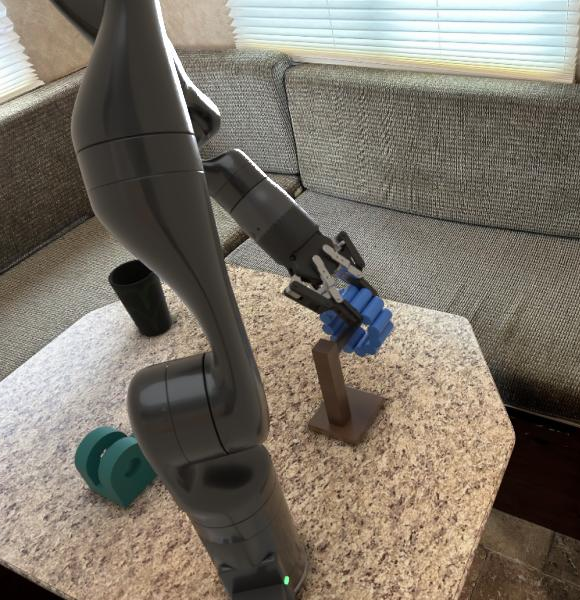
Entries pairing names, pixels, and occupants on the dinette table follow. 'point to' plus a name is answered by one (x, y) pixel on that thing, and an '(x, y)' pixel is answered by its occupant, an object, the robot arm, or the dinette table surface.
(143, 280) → the cup
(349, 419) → the tape stand
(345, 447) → the dinette table surface
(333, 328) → the blue ribbed cylinder bundle
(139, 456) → the bracket
